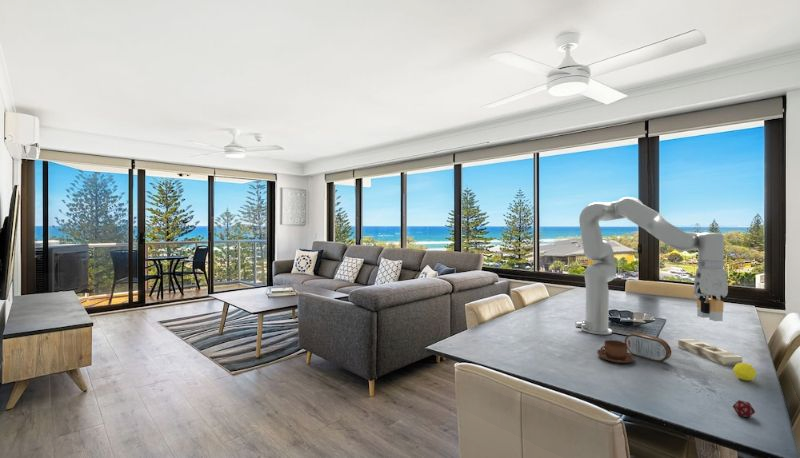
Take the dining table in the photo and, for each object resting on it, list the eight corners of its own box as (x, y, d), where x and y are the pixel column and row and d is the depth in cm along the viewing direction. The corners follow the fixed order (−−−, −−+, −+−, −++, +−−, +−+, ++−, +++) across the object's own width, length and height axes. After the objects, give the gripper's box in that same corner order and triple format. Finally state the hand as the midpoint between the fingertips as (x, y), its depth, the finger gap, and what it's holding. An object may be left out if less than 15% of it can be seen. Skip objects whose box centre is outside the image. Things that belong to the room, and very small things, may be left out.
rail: (742, 365, 134) (742, 356, 134) (724, 365, 134) (724, 357, 134) (693, 346, 154) (694, 339, 154) (678, 346, 154) (678, 339, 154)
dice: (755, 422, 96) (755, 407, 96) (732, 416, 99) (732, 401, 99) (755, 416, 98) (755, 401, 98) (732, 410, 101) (732, 396, 101)
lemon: (754, 385, 118) (754, 368, 118) (731, 379, 122) (731, 363, 122) (757, 379, 122) (757, 363, 122) (735, 374, 126) (735, 358, 126)
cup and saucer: (621, 368, 131) (621, 350, 131) (590, 357, 142) (590, 340, 141) (641, 362, 136) (642, 345, 136) (610, 352, 147) (610, 336, 147)
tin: (671, 363, 136) (672, 340, 135) (667, 365, 134) (668, 341, 134) (627, 351, 148) (627, 330, 148) (623, 352, 146) (623, 331, 146)
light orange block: (723, 321, 140) (723, 301, 140) (715, 321, 140) (716, 301, 139) (703, 315, 148) (704, 296, 148) (696, 316, 148) (697, 297, 147)
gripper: (699, 266, 139) (698, 315, 139) (739, 266, 140) (738, 314, 141) (682, 264, 146) (681, 310, 147) (720, 263, 148) (720, 310, 148)
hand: (709, 312), depth 144 cm, fingers closed on light orange block, 3 cm apart
